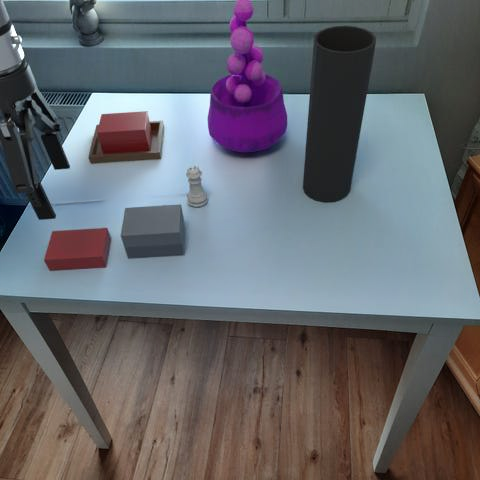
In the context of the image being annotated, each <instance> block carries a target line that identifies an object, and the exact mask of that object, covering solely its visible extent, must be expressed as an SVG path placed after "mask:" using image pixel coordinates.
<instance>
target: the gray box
mask: <svg viewBox="0 0 480 480" xmlns="http://www.w3.org/2000/svg"><path fill="white" fill-rule="evenodd" d="M120 238H121V242H122V244H123V247H124V250H125V253H126V257H127V259H128V260H130V259H144V258H161V257H177V256H185V247H186V246H185V243H186V223H185V219H184V212H183V207H182V204H181V203H179V204H165V205H151V206H150V205H149V206H134V207H124V213H123V218H122V225H121V231H120Z"/></svg>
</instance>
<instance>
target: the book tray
mask: <svg viewBox="0 0 480 480" xmlns="http://www.w3.org/2000/svg"><path fill="white" fill-rule="evenodd" d="M149 121H150V125H151V130H152V141H151V149H150V151H143V152H128V153H112V154H103V151H102V148H101V144H100V141H99V138H98V135H97V130H98V126H99V124H96V126H95V129H94V133H93V137H92V141H91V146H90V148H89V152H88V155H87V156H88V160H89V163H90V165H93V164H108V163H109V164H110V163H125V162H140V161H141V162H143V161H158V160H162V155H163V146H164V145H163V144H164V143H163V142H164V135H165V125H164V123H165V122H164V120H149Z"/></svg>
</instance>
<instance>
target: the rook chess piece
mask: <svg viewBox="0 0 480 480" xmlns="http://www.w3.org/2000/svg"><path fill="white" fill-rule="evenodd" d="M202 174H203V172H202V170H200V167H199V166H196V165H193V167H192V166H189V168H187V169H186V172H185V176H186V178H187V179H188V180H187V182H188V184H189V190H188V192H187V195H186V198H187V199H186V201H187V203H188V205H190V206H191V207H193V208H201V207H204V206H205V205H206V204H207V203H208V201H209V198H208V194H207V192H206V190H205V188H203V184H202V177H201V176H202Z"/></svg>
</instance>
